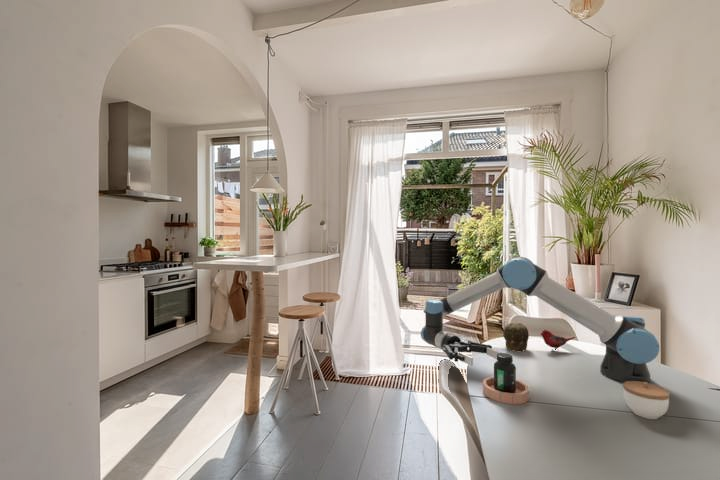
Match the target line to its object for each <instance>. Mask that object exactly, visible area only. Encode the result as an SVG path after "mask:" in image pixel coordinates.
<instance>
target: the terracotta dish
mask: <svg viewBox="0 0 720 480" xmlns="http://www.w3.org/2000/svg"><path fill="white" fill-rule="evenodd" d="M482 380H483V381H482V394H484V396H486V397H487V398H488V399H491V400H493V401H495V402H499V403H502V404H508V405H509V404H510V405H518V404H519V405H520V404H525V403H526V402H528V401H530V389H529V386H528V385H527V384H525V383H524V382H523V381H521V380H518V379H516V392H515V393H506V392H500V391H498V390H495V389H494V376H488V377H486V378H484V379H482Z"/></svg>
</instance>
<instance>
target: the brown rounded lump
mask: <svg viewBox="0 0 720 480" xmlns="http://www.w3.org/2000/svg"><path fill="white" fill-rule="evenodd" d="M502 335H503V339H504V340H505V348H506V347H507V348H508V349H507V348H506V349H507V350H509V349H510V350H509V351H512V350H515V351H514V352H516V351H521V352H524V351H523V350H525V351H526V350H527V348H528V343H529V342H528V340H529V339H530V335H529V330H528V328H527V326H526V325H524V324H523V323H522V322H515V323H514V322H511V323H507V324H506V325H505V326H504V329H503V333H502Z"/></svg>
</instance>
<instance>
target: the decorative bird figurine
mask: <svg viewBox="0 0 720 480" xmlns="http://www.w3.org/2000/svg"><path fill="white" fill-rule="evenodd" d="M540 336H541V337H542V339H543V342H544V343H545V344H546V345H547V346H548V347H551V348H552V349H551V350H553V349H555V350H556V349H559V348H561V347H563V346H564V345H565V344H566V343H567V342H569V341H571V340H574V339H576V337H575V336H573V337H567V338H565V337H563V336H560V335H557V334H553V333H552V332H551V331H550V330H547V329H544V330H542V332H541V333H540Z"/></svg>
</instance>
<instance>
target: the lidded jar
mask: <svg viewBox="0 0 720 480" xmlns="http://www.w3.org/2000/svg"><path fill="white" fill-rule="evenodd" d="M622 387H623V388H622V389H623V398H624V400H625V403H626V405H627V407H628V408H630V410H631V411H632V412H633V413H634V414H635V415H636V416H638V417H640V418H645V419H649V420H658V419H659V418H660V417H662V416H664V415H665V414H666V412H667V411H668V409H669V406H670V395H671V393H670V392H669V391H668V390H667V389H666V388H663V387H661V386H659V385H657V384H653V383H650V382H649V383H647V382H640V381H626V382H623V383H622Z"/></svg>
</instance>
